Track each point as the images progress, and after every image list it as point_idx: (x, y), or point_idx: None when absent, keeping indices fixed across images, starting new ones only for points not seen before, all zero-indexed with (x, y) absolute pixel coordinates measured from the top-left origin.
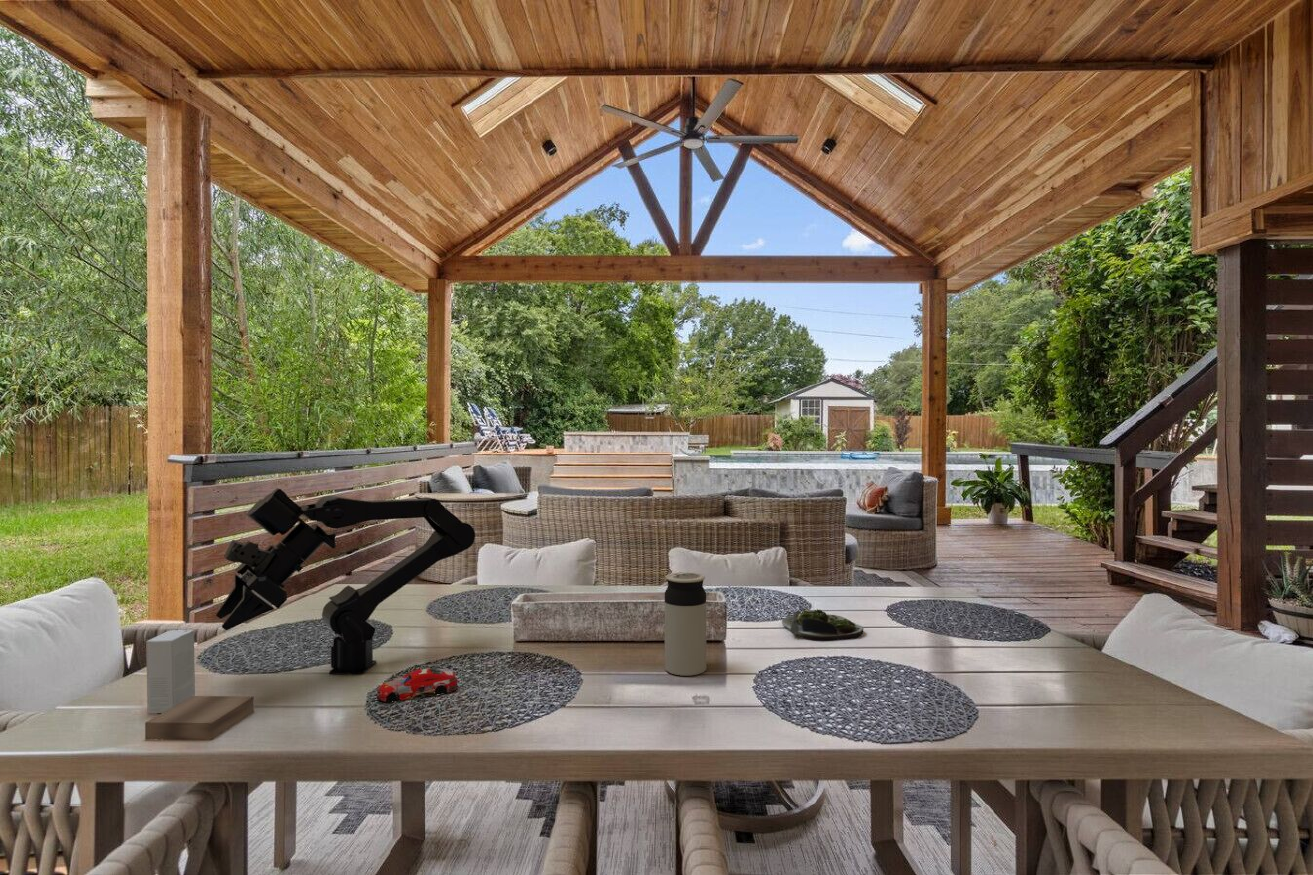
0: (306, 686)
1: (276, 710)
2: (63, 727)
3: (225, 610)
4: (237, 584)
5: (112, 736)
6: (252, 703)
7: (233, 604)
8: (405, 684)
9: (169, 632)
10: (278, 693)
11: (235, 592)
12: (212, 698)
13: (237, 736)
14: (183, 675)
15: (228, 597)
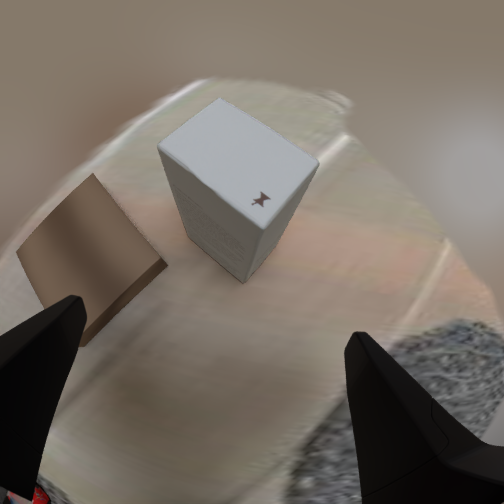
0: (158, 464)
1: None
2: (256, 115)
3: (358, 376)
4: (453, 483)
5: (156, 153)
6: None
7: (370, 421)
8: (8, 497)
9: (283, 155)
10: (152, 417)
11: (417, 453)
12: (114, 284)
13: (18, 289)
14: (208, 236)
15: (404, 406)
